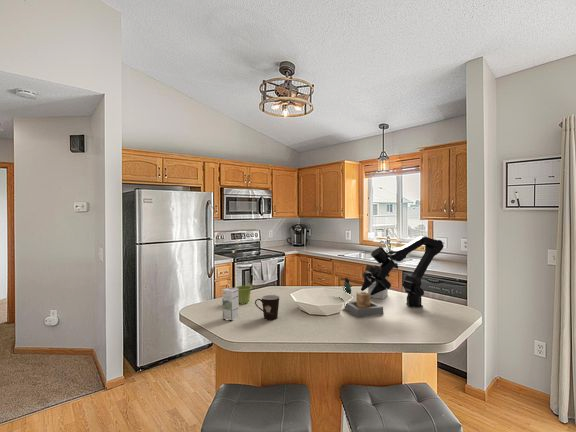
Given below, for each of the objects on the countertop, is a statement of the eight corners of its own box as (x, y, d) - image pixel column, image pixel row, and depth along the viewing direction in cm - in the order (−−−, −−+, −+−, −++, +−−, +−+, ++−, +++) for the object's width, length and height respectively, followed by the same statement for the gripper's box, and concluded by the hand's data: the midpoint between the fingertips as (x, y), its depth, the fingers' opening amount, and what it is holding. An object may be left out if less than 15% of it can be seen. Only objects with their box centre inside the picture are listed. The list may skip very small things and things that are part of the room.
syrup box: (239, 317, 156) (238, 287, 156) (232, 321, 150) (231, 290, 150) (229, 316, 158) (229, 286, 158) (222, 320, 153) (221, 289, 153)
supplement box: (383, 299, 186) (383, 269, 185) (367, 297, 191) (367, 268, 190) (388, 295, 194) (387, 267, 193) (373, 293, 199) (372, 266, 199)
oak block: (365, 309, 167) (365, 292, 167) (370, 312, 162) (370, 294, 162) (356, 310, 165) (356, 292, 165) (361, 313, 160) (361, 295, 160)
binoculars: (333, 278, 198) (349, 276, 198) (335, 295, 198) (351, 293, 198) (335, 281, 189) (352, 279, 189) (337, 299, 189) (354, 297, 189)
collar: (368, 306, 172) (368, 299, 172) (383, 314, 159) (383, 306, 159) (344, 308, 168) (344, 302, 168) (357, 317, 155) (357, 309, 155)
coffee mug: (283, 317, 155) (283, 296, 155) (270, 322, 149) (270, 300, 149) (266, 312, 163) (266, 293, 163) (253, 316, 157) (253, 296, 157)
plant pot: (238, 300, 187) (237, 285, 187) (253, 300, 186) (253, 285, 186) (233, 305, 178) (232, 289, 178) (249, 305, 176) (249, 289, 176)
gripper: (365, 256, 174) (347, 278, 171) (385, 261, 156) (365, 286, 153) (378, 270, 177) (360, 292, 174) (399, 276, 159) (380, 301, 156)
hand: (366, 292), depth 164 cm, fingers open, 9 cm apart
